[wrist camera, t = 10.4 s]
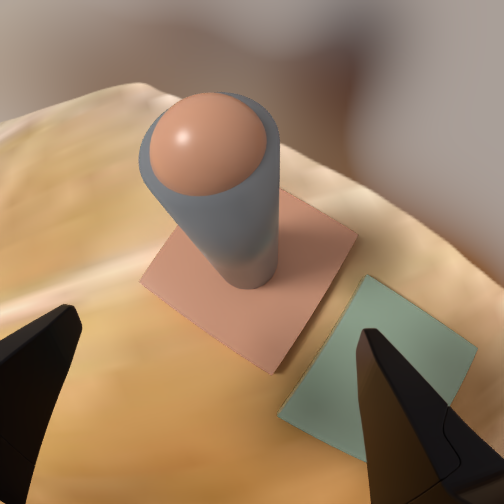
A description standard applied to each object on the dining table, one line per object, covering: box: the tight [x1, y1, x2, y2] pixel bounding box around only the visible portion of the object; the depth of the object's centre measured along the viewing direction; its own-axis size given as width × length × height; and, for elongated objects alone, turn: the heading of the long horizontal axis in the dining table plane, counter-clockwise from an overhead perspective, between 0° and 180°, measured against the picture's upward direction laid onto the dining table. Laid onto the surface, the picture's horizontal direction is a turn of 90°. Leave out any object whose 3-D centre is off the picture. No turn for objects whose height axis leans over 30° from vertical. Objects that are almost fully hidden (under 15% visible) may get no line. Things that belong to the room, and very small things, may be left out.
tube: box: [139, 92, 280, 289], centre depth 14 cm, size 4×4×14 cm
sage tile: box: [277, 275, 478, 463], centre depth 18 cm, size 11×11×1 cm
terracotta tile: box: [139, 188, 358, 375], centre depth 21 cm, size 11×11×1 cm
